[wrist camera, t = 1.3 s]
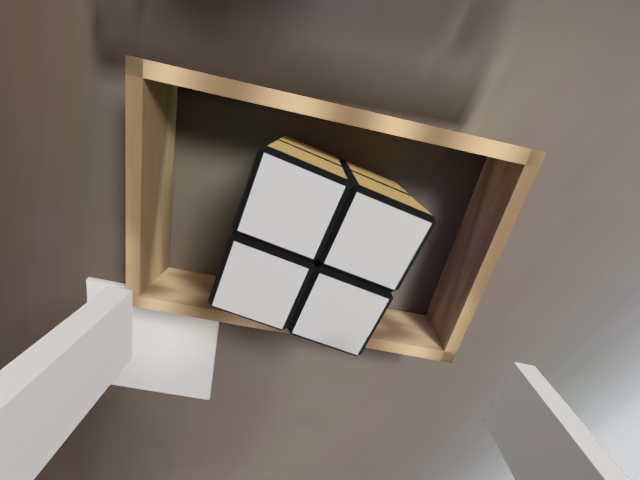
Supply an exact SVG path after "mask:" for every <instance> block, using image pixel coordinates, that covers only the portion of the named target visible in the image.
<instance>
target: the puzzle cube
mask: <svg viewBox="0 0 640 480" xmlns="http://www.w3.org/2000/svg"><path fill="white" fill-rule="evenodd" d="M435 224H436V222H435V219H434V216H433V215H432V214H431V213H430V212H429V211H427V210H426V209H425V208H424V207H423V206H422V205H421V204H420V203H418V202H417V201H416V200H415V199H414V198H413V197H411V196H410V194H409V193H408V192H406V191H405V190H404V189H403V188H402V187H401V186H399V185H398V184H397V183H396V182H394V181H392V180H390V179H387V178H385V177H383V176H380V175H378V174H376V173H373V172H371V171H368V170H366V169H364V168H361V167H359V166H357V165H354V164H352V163H350V162H347V161H344V162H342V163H340V161H339V159H338V157H336V156H333V155H331V154H329V153H326V152H324V151H321V150H319V149H317V148H314V147H312V146H310V145H307V144H305V143H303V142H300V141H298V140H296V139H293V138H291V137H289V136H286V135H285V136H283V137H280V138H278V139H277V140H275V141H273V142H272V143H270V144H268V145H266V146H264V147H262V148H260V149H259V150H258V153H257V156H256V159H255V162H254V165H253V168H252V171H251V174H250V177H249V180H248V183H247V186H246V189H245V192H244V195H243V198H242V201H241V204H240V207H239V210H238V213H237V216H236V219H235V222H234V225H233V228H234V231H233V233H232V234H231V235H230V237H229V240H228V243H227V246H226V249H225V252H224V255H223V258H222V261H221V263H220V266H219V269H218V272H217V275H216V278H215V281H214V284H213V287H212V290H211V293H210V296H209V299H208V302H209V303H210V305H211V307H214V308H216V309H219V310H222V311H225V312H228V313H231V314H234V315H237V316H240V317H243V318H246V319H249V320H252V321H255V322H258V323H261V324H263V325H266V326H269V327H272V328H275V329H278V330H283V329H286V328H287V329H288V330H289V332H290V334H292V335H295V336H298V337H301V338H304V339H307V340H310V341H313V342H316V343H319V344H321V345H324V346H327V347H330V348H333V349H336V350H339V351H342V352H345V353H348V354H351V355H354V356H358V355H360V354H362V352H363V350H364V348H365V347H366V345H367V343H368V341H369V340H370V338H371V336H372V334H373V333H374V331H375V329H376V327H377V326H378V324H379V322H380V320H381V319H382V317H383V315H384V313H385V312H386V310H387V308H388V306H389V305H390V303H391V301H392V299H393V297H392V294H391V292H392V291H395V290H398V289H399V287H400V285H401V284H402V282H403V280H404V278H405V277H406V275H407V273H408V271H409V270H410V268H411V266H412V264H413V263H414V261H415V259H416V257H417V256H418V254H419V252H420V250H421V248H422V247H423V245H424V243H425V241H426V240H427V238H428V236H429V234H430V233H431V231H432V229H433V227H434V226H435Z"/></svg>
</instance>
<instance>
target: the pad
mask: <svg viewBox="0 0 640 480" xmlns="http://www.w3.org/2000/svg"><path fill="white" fill-rule="evenodd" d="M86 286H87V302H89V301H90V300H91V299H92V298H94V297H95V296H96V295H98V294H99V293H100V292H101V291H103V290H104V289H105V288H107V287H108V286H111V287H117V288H122V289H126V284H125V283H119V282H114V281H108V280H103V279H97V278H92V277H88V278H87V279H86ZM218 330H219V322H218V321H212V320H206V319H201V318H195V317H189V316H184V315H178V314H172V313H167V312H161V311H156V310H150V309H144V308H139V307H133V306H132V358H131V359H130V361H129V362H128V363H127V364H126V366H125V367H124V368H123V369H122V371H121V372H120V373H119V374H118V376H117V377H116V378H115V379H114V381H113V382H112V383H111V385H117V386H124V387H130V388H136V389H142V390H149V391H155V392H161V393H168V394H174V395H180V396H186V397H193V398H199V399H205V400H209V399H210V396H211V388H212V380H213V371H214V363H215V355H216V347H217V338H218Z"/></svg>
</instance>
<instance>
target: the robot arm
mask: <svg viewBox="0 0 640 480" xmlns="http://www.w3.org/2000/svg"><path fill="white" fill-rule="evenodd" d="M132 295H133V290H127V289H122V288H117V287H111V286H108V287H107V288H105V289H104V290H103V291H101V292H100V293H99V294H98V295H96V296H95V297H94V298H92V299H91V300H90V301H89V302H87V303H86V304H85V305H83V306H82V307H81V308H80V309H78V310H77V311H76V312H74V313H73V314H72V315H71V316H69V317H68V318H67V319H65V320H64V321H63V322H62V323H60V324H59V325H58V326H56V327H55V328H54V329H53V330H51V331H50V332H49V333H47V334H46V335H45V336H44V337H42V338H41V339H40V340H38V341H37V342H36V343H35V344H33V345H32V346H31V347H29V348H28V349H27V350H26V351H24V352H23V353H22V354H20V355H19V356H18V357H17V358H15V359H14V360H13V361H11V362H10V363H9V364H8V365H6V366H5V367H4V368H2V369H1V370H0V480H34V479H35V478H36V476H37V475H38V474H39V473H40V471H41V470H42V469H43V468H44V466H45V465H46V464H47V463H48V461H49V460H50V459H51V458H52V456H53V455H54V454H55V453H56V451H57V450H58V449H59V448H60V447H61V445H62V444H63V443H64V442H65V440H66V439H67V438H68V437H69V435H70V434H71V433H72V432H73V430H74V429H75V428H76V427H77V425H78V424H79V423H80V422H81V420H82V419H83V418H84V417H85V415H86V414H87V413H88V412H89V410H90V409H91V408H92V407H93V405H94V404H95V403H96V402H97V400H98V399H99V398H100V397H101V395H102V394H103V393H104V392H105V391H106V389H107V388H108V387H109V386H110V384H111V383H112V382H113V381H114V379H115V378H116V377H117V376H118V374H119V373H120V372H121V371H122V369H123V368H124V367H125V366H126V364H127V363H128V362H129V361H130V359H131V358H132ZM484 421H485V423H486V425H487V427H488V429H489V430H490V432H491V434H492V436H493V438H494V440H495V442H496V444H497V446H498V448H499V449H500V451H501V453H502V455H503V457H504V459H505V461H506V463H507V465H508V467H509V468H510V470H511V472H512V474H513V476H514V478H515V480H630V478H629V477H628V476H627V475H626V474H625V473H624V471H623V470H622V469H621V468H620V467H619V465H618V464H617V463H616V462H615V461H614V459H613V458H612V457H611V456H610V455H609V454H608V452H607V451H606V450H605V449H604V448H603V446H602V445H601V444H600V443H599V442H598V441H597V439H596V438H595V437H594V436H593V435H592V433H591V432H590V431H589V430H588V429H587V428H586V426H585V425H584V424H583V423H582V422H581V420H580V419H579V418H578V417H577V416H576V415H575V413H574V412H573V411H572V410H571V409H570V407H569V406H568V405H567V404H566V403H565V401H564V400H563V399H562V398H561V397H560V396H559V394H558V393H557V392H556V391H555V390H554V388H553V387H552V386H551V385H550V384H549V383H548V381H547V380H546V379H545V378H544V377H543V375H542V374H541V373H540V372H539V371H538V370H537V368H536V367H535V366H532V365H527V364H521V363H516V362H514V363H513V365H512V367H511V368H510V370H509V372H508V374H507V376H506V378H505V380H504V382H503V383H502V385H501V387H500V389H499V391H498V393H497V395H496V397H495V398H494V400H493V402H492V404H491V406H490V408H489V410H488V412H487V413H486V415H485V417H484Z"/></svg>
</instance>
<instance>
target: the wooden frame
mask: <svg viewBox="0 0 640 480" xmlns="http://www.w3.org/2000/svg"><path fill="white" fill-rule="evenodd" d="M178 86H180V87H185V88H189V89H194V90H198V91H202V92H207V93H211V94H216V95H220V96H224V97H229V98H233V99H237V100H242V101H246V102H251V103H255V104H259V105H264V106H268V107H273V108H277V109H281V110H286V111H290V112H295V113H299V114H303V115H308V116H312V117H316V118H321V119H325V120H330V121H334V122H338V123H343V124H347V125H352V126H356V127H360V128H365V129H369V130H373V131H378V132H382V133H387V134H391V135H395V136H400V137H404V138H409V139H413V140H417V141H422V142H426V143H431V144H435V145H439V146H444V147H448V148H452V149H457V150H461V151H466V152H470V153H474V154H479V155H483V156H487V158H486V161H485V163H484V166H483V169H482V171H481V174H480V176H479V179H478V181H477V184H476V187H475V189H474V192H473V194H472V197H471V200H470V202H469V205H468V207H467V210H466V212H465V215H464V218H463V220H462V223H461V225H460V228H459V230H458V233H457V236H456V238H455V241H454V243H453V246H452V248H451V251H450V254H449V256H448V259H447V261H446V264H445V267H444V269H443V272H442V274H441V277H440V279H439V282H438V285H437V287H436V290H435V292H434V295H433V297H432V300H431V303H430V305H429V308H428V310H427V313H426V315H421V314H416V313H411V312H405V311H400V310H395V309H389V308H387V310H386V312H385V313H384V315H383V317H382V319H381V320H380V322H379V324H378V326H377V327H376V329H375V331H374V333H373V334H372V336H371V338H370V340H369V341H368V343H367V345H366V347H365V348H370V349H376V350H381V351H387V352H393V353H398V354H404V355H410V356H415V357H421V358H427V359H432V360H438V361H443V362H449V363H452V362H453V359H454V357H455V355H456V353H457V351H458V348H459V346H460V344H461V342H462V339H463V337H464V335H465V333H466V331H467V328H468V326H469V324H470V322H471V320H472V317H473V315H474V313H475V311H476V308H477V306H478V304H479V302H480V300H481V297H482V295H483V293H484V291H485V288H486V286H487V284H488V282H489V280H490V277H491V275H492V273H493V271H494V268H495V266H496V264H497V262H498V260H499V257H500V255H501V253H502V251H503V248H504V246H505V244H506V242H507V240H508V237H509V235H510V233H511V231H512V228H513V226H514V224H515V222H516V220H517V217H518V215H519V213H520V211H521V208H522V206H523V204H524V202H525V200H526V197H527V195H528V193H529V191H530V189H531V186H532V184H533V182H534V180H535V177H536V175H537V173H538V171H539V169H540V166H541V164H542V162H543V160H544V157H545V155H546V152H542V151H537V150H533V149H529V148H525V147H520V146H516V145H512V144H507V143H503V142H499V141H494V140H490V139H486V138H481V137H477V136H473V135H469V134H464V133H460V132H456V131H451V130H447V129H443V128H438V127H434V126H430V125H425V124H421V123H417V122H413V121H408V120H404V119H400V118H395V117H391V116H387V115H382V114H378V113H374V112H369V111H365V110H361V109H356V108H352V107H348V106H344V105H339V104H335V103H331V102H326V101H322V100H318V99H313V98H309V97H305V96H300V95H296V94H292V93H288V92H283V91H279V90H275V89H270V88H266V87H262V86H257V85H253V84H249V83H244V82H240V81H236V80H232V79H227V78H223V77H219V76H214V75H210V74H206V73H201V72H197V71H193V70H188V69H184V68H180V67H176V66H171V65H167V64H163V63H158V62H154V61H150V60H145V59H141V58H137V57H132V56H128V55H125V147H126V289H127V290H133V295H132V306H133V307H139V308H144V309H150V310H156V311H161V312H167V313H172V314H178V315H184V316H189V317H195V318H201V319H206V320H212V321H218V322H223V323H229V324H235V325H240V326H246V327H252V328H257V329H263V330H268V331H274V332H280V333H285V334H290V332H289V330H288V329H287V328H286V329H283V330H278V329H275V328H272V327H269V326H266V325H263V324H261V323H258V322H255V321H252V320H249V319H246V318H243V317H240V316H237V315H234V314H231V313H228V312H225V311H222V310H219V309H216V308H214V307H211V305H210V303H209V302H208V299H209V296H210V293H211V290H212V287H213V284H214V281H215V278H216V276H213V275H208V274H202V273H197V272H192V271H186V270H181V269H176V268H170V267H169V254H170V234H171V215H172V195H173V175H174V156H175V136H176V116H177V97H178ZM291 335H292V334H291Z"/></svg>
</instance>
